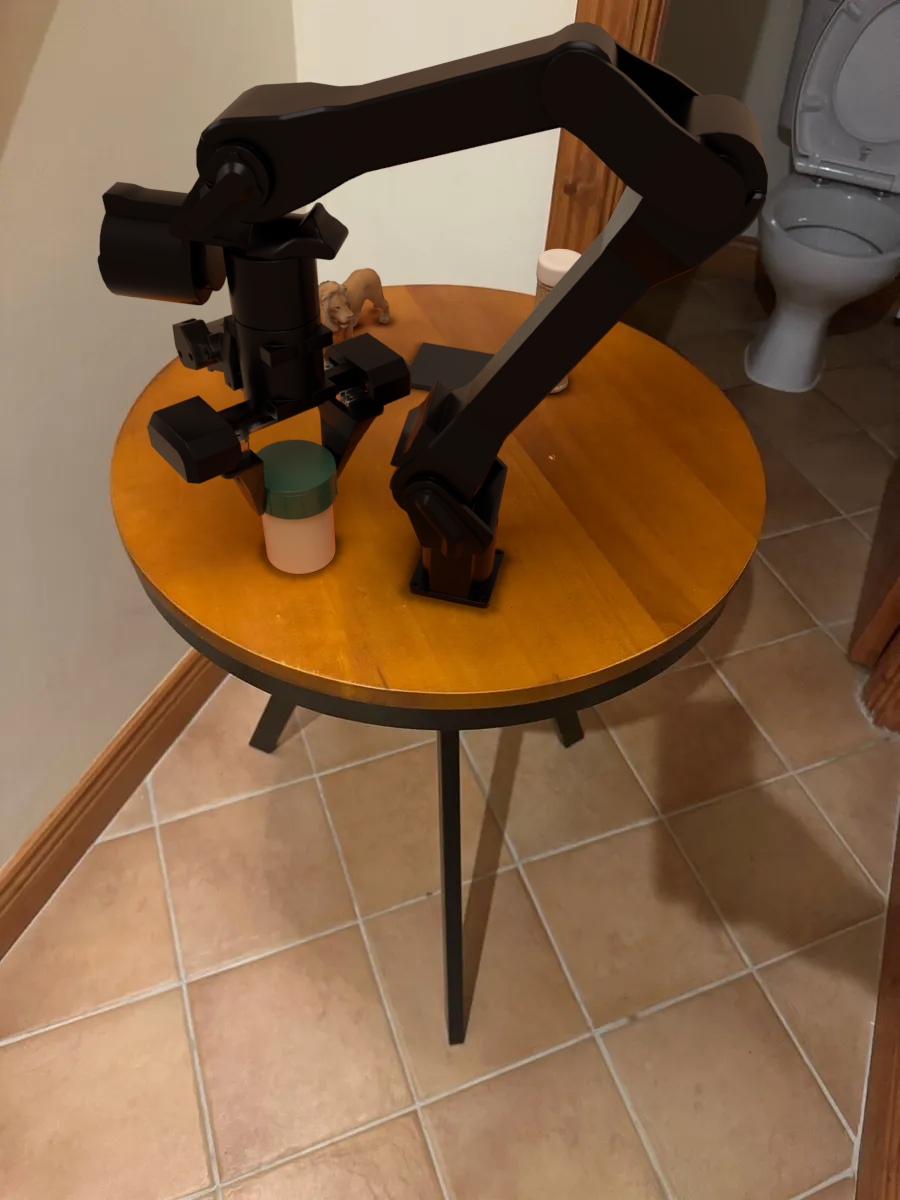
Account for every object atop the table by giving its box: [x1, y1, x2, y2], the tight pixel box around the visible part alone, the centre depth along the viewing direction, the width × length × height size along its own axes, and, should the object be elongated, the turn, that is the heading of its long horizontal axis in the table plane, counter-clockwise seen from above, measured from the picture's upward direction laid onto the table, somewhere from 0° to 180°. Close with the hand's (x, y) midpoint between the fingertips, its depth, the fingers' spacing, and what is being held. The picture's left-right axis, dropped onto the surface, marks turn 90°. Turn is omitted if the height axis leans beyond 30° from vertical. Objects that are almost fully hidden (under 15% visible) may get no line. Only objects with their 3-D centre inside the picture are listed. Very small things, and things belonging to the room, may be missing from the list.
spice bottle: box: [533, 248, 582, 394], centre depth 89 cm, size 5×5×13 cm
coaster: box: [409, 342, 496, 392], centre depth 94 cm, size 8×8×1 cm
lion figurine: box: [318, 267, 391, 356], centre depth 95 cm, size 15×5×9 cm, turn 163°
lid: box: [255, 439, 339, 520], centre depth 69 cm, size 6×6×3 cm
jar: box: [261, 503, 337, 575], centre depth 71 cm, size 6×6×8 cm
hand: (295, 495), depth 70 cm, fingers closed on lid, 6 cm apart
